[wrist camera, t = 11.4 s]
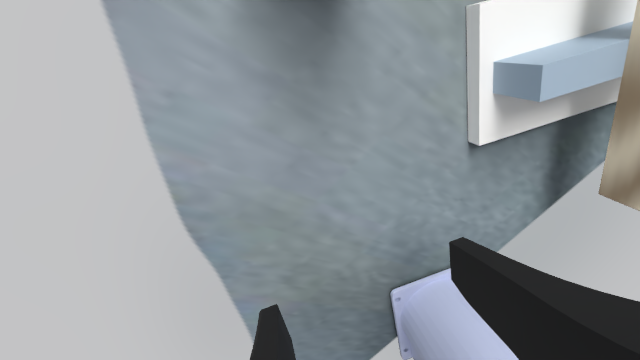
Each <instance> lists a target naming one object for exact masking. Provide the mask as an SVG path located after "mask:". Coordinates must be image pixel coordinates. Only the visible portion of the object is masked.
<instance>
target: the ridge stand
mask: <svg viewBox="0 0 640 360" xmlns="http://www.w3.org/2000/svg"><path fill="white" fill-rule="evenodd" d="M636 5H637V0H487V1H483V2H480V3H476V4H472V5H468V6H466V25H467V98H468V141H469V142H471V143H473V144H476V145H478V146H481V145H484V144H487V143H490V142H493V141H496V140H499V139H502V138H505V137H508V136H511V135H515V134H518V133H521V132H524V131H527V130H530V129H533V128H536V127H539V126H542V125H545V124H548V123H552V122H555V121H558V120H561V119H564V118H567V117H570V116H573V115H576V114H579V113H582V112H585V111H589V110H592V109H595V108H598V107H601V106H604V105H607V104H610V103H613V102H616V101H617V99H618V94H619V89H620V85H621V80H622V75H623V70H624V65H625V60H626V55H627V50H628V45H629V40H630V35H631V30H632V25H633V20H634V15H635V10H636Z"/></svg>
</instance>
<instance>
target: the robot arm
mask: <svg viewBox="0 0 640 360" xmlns="http://www.w3.org/2000/svg"><path fill="white" fill-rule="evenodd" d="M449 246H450V266H451V268H449V269H447V270H444V271H441V272H439V273H436V274H433V275H431V276H428V277H425V278H423V279H420V280H417V281H414V282H412V283H409V284H406V285H404V286H401V287H398V288H396V289H393V290H392V291H391V293H390V296H391V302H392V307H393V313H394V319H395V325H396V330H397V336H398V342H399V347H400V353H401V356H402V358H403V359H404V360H407V359H410V358H412V357H413V359H414V360H640V302H638V301H634V300H630V299H626V298H623V297H619V296H615V295H611V294H608V293H604V292H601V291H597V290H594V289H590V288H587V287H584V286H581V285H578V284H575V283H572V282H569V281H566V280H563V279H560V278H557V277H555V276H552V275H549V274H547V273H544V272H541V271H539V270H536V269H534V268H531V267H529V266H527V265H524V264H522V263H519V262H517V261H515V260H512V259H510V258H508V257H506V256H503V255H501V254H499V253H497V252H495V251H492V250H490V249H488V248H486V247H484V246H482V245H479V244H477V243H475V242H473V241H471V240H468V239H466V238H464V237H462V238H459V239H456V240H454V241H451V242H449ZM396 298H397V299H396ZM250 360H296V358H295V353H294V349H293V344H292V340H291V337H290V335H289V332H288V330H287V327H286V325H285V322H284V320H283V317H282V315H281V313H280V310H279V308H278V305H277V304H276V305H273V306H270V307H268V308H265V309H262V310H261V311H260V313H259V320H258V326H257V331H256V336H255V340H254V345H253V349H252V353H251V357H250Z"/></svg>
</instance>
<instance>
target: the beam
mask: <svg viewBox="0 0 640 360" xmlns="http://www.w3.org/2000/svg"><path fill="white" fill-rule="evenodd" d="M599 194H600V195H603V196H605V197H607V198H610V199H612V200H614V201H617V202H619V203H621V204H624V205H626V206H629V207H631V208H633V209H636V210H638V211H640V0H637V5H636V10H635V15H634V20H633V25H632V30H631V35H630V40H629V45H628V50H627V55H626V60H625V65H624V70H623V75H622V80H621V85H620V89H619V94H618V99H617V104H616V109H615V114H614V119H613V124H612V129H611V134H610V139H609V144H608V149H607V154H606V159H605V164H604V169H603V174H602V179H601V184H600V189H599Z"/></svg>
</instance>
